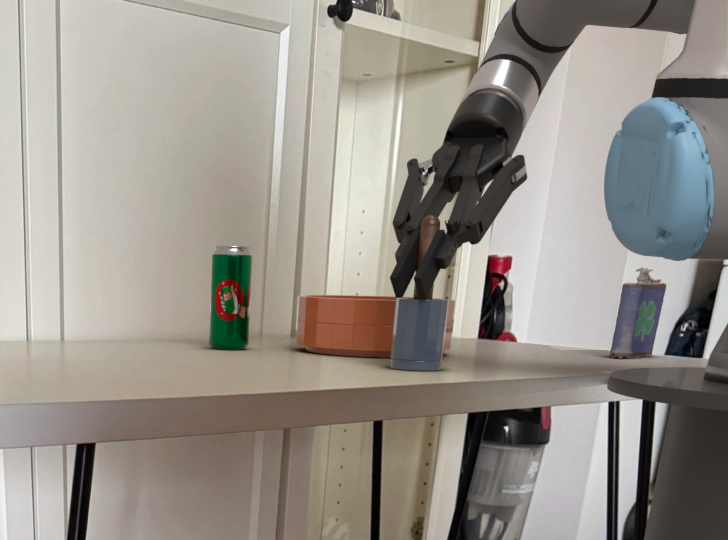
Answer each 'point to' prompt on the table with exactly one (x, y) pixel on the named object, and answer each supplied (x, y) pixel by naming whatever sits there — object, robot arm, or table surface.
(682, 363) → the table surface
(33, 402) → the table surface
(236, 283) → the soda can
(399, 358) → the crock
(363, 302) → the bowl
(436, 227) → the stirring stick
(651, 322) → the flask
